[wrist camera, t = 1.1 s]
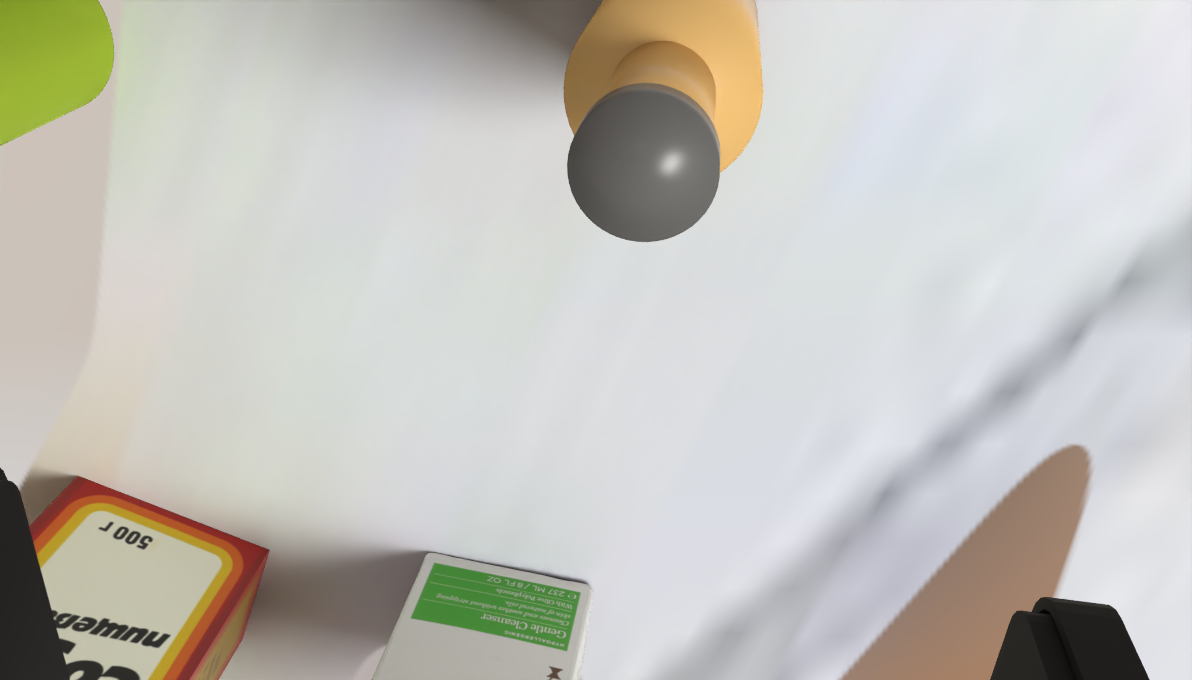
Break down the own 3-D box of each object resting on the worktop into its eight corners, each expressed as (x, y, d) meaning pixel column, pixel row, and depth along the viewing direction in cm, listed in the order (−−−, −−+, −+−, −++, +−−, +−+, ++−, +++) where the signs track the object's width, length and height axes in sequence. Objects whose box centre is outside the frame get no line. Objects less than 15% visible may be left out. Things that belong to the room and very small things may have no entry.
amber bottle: (608, -62, 33) (522, 34, 20) (767, -51, 33) (785, 55, 20) (599, 94, 36) (518, 271, 23) (747, 107, 35) (752, 294, 22)
